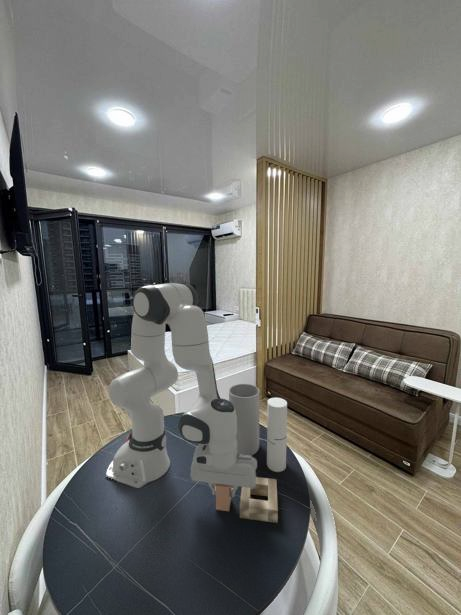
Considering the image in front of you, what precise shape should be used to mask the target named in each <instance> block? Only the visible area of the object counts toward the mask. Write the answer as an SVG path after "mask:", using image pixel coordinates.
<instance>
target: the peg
mask: <svg viewBox="0 0 461 615" xmlns="http://www.w3.org/2000/svg"><path fill="white" fill-rule="evenodd" d="M215 485H216V495H215V510H217V511H223V512H224V511H225V512H230V509H231V508H230V507H231V503H232V502H231V501H232V497H230V496H229V495H230V494H229V492H230V487H232V486H231V485H223V484H215Z"/></svg>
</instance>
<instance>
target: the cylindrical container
mask: <svg viewBox="0 0 461 615" xmlns="http://www.w3.org/2000/svg"><path fill="white" fill-rule="evenodd" d="M266 409H267V412H266V414H267V417H266V419H267V420H266V422H267V423H266V424H267V425H266V426H267V427H266V433H267V434H266V465H267V468H268V469H269V471H270V470H271V471H272V472H276V473H281V472H283V471H285V470H286V468H287V440H288V438H287V437H288V436H287V434H288V433H287V432H288V430H287V429H288V428H287V427H288V402H287V400H286V399H285V398H284V399H283V398H282V397H271V398H268V400H267V408H266Z"/></svg>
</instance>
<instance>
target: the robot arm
mask: <svg viewBox="0 0 461 615" xmlns="http://www.w3.org/2000/svg"><path fill="white" fill-rule="evenodd" d="M132 296H133V297H132V308H133V315H132V322H131V335H130V336H131V337H130V338H131V339H130V340H131V341H130V352H131V354H132V356H133V357H134V358H136V359H137V360H140V361H142V362H143V365H142V366H141V367H139V368H136V369H133V370H130V371H127V372H125V373H122V374H121V375H118V376H117V377H116V378H114V379H112V380H111V382H110V383H109V386H108V397H109V400H110V401H111V403H112V404H113V405H115V406H116V407H118V408H120V409H124V410H125V411H126V413H128V415H129V417H130V420H131V430H132V431H130V432H129V434H128V436H127V437H126V438H125V440H126V441H125V442H124V443H123V444H122V445H121V446H120V447H119V448H118V450H117V452H116V453H115V454H114V457H113V460H112V461H111V463H110V464H109V465H108V467H107V469H106V472H105V477H106V478H107V477H108V478H107V479H109V478H111V479H110V480H112V479H114V480H113V481H115V480H116V482H118V483H121V484H124V485H127V486H130V487H133V488H136V489H140V488H142V487H144V486H145V485H146V484H148V483H150V482H151V483H152V482H154V481H156V480H158V479H159V478H162V477H163V475H165V474H166V473H167V472H168V470H169V468H170V465H171V460H170V458H169V455H168V452H167V447H166V446H167V445H166V443H167V436H166V428H165V421H164V420H165V418H164V417H165V416H164V410H163V408H162V407H161V406H160V405H159V404H157V403H154V402H151V398H152V397H154V396H156V395H157V394H160V393H163V392H165V391H167V390H168V389H169V388H171V387H172V386H174V385H175V384H177V381H178V379H179V372H178V368H177V366H178V367H180V368H182V369H183V370H186V371H193V372H194V373H195V375H196V379H197V384H198V392H199V393H198V397H197V398H196V400H195V402H194V403H193V404H192V405H191V406H190V407H189V408H188V409H187V410H186V411H185V412H183V414H182V415H180V418H179V419H178V426H177V427H178V430H179V433H180V436H181V437H182V438H183V439H184V440H185V441H186V442H188V443H189V444H190V443H191V444H198V445H197V446H196V447H195V451H194V453H193V457H192V462H191V466H190V474H189V475H190V479H191V480H192V481H193V482H200V483H207V484H208V487H209V488H210V490H211V494H212V495H213V496H216V484H223V485H231V487H230V492H229V494H230V495H229V496H230V497H231V498H234V497H235V495H236V494H235V493H236V491H237V490H238V488H239V487H240V488H242V487H247V488H253V487H254V486H255V485H256V477H257V471H256V470H257V468H258V460H257V459H256V458H255V457H253V455H242V454H237V439H236V434H237V417H236V411H235V408H234V406H233V404H232V403H231V402H230V401H229V399H226V398H221V397H220V394H219V391H218V386H217V379H216V378H217V377H216V373H215V372H216V371H215V367H214V362H213V359H212V356H211V351H210V343H209V342H210V340H209V332H208V331H209V330H208V326H207V321H206V318H205V317H206V316H205V314H204V311H203V310H202V308H201V307H199V306H198V304H199V294H198V292H197V290H196V289H195V287H194V286H192V285H190V284H187V283H185V282H180V283H176V282H166V283H159V284H148V285H144V286H141V287H139V288H137V289H136V291H134V294H133V295H132ZM166 325H168V326H169V329H170V332H171V333H170V334H171V348H172V357H173V360H174V362H175V364H176V365H177V366H176V365H175V364H174V363H173V361H172V362H171V361H170V360H169V359H168V357H167V356H166V351H165V348H166V346H165V345H166V344H165V342H166V339H165V338H166Z"/></svg>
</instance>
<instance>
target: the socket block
mask: <svg viewBox="0 0 461 615" xmlns="http://www.w3.org/2000/svg"><path fill="white" fill-rule="evenodd" d="M277 488H278V487H277V478H275V479H274V478H268V477H259V476H256V485H255V486H254V487H253V488H247V487H241V492H240V501H239V518H240V519H248V520H253V521H260V522H261V521H262V522H268V523H275V524H278V518H279V515H278V511H279V508H278V507H279V506H278V505H279V504H278V489H277ZM251 495H254V496H262V497H267V500H265V499H255V498H252V496H251Z"/></svg>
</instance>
